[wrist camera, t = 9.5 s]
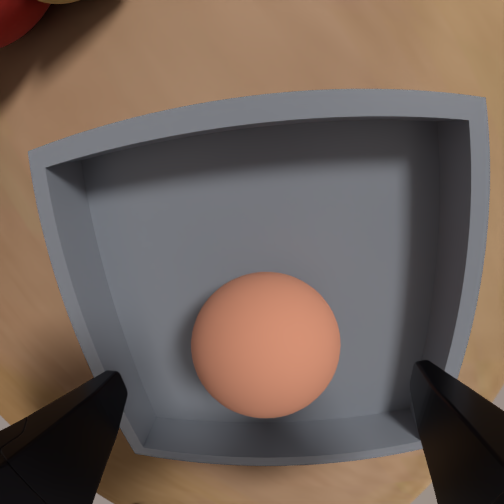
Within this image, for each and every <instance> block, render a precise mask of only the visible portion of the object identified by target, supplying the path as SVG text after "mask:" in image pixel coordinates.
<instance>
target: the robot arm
mask: <svg viewBox="0 0 504 504" xmlns="http://www.w3.org/2000/svg"><path fill="white" fill-rule="evenodd" d="M409 388H410V394H411V398H412V403H413V408H414V414H415V419H416V425H417V429H418V434H419V437H420V441H421V444H422V447H423V451H424V454H425V457H426V461H427V465H428V468H429V472H430V475H431V479H432V483H433V487H434V491H435V495H436V499H437V503H438V504H504V411H503V410H501V409H500V408H498V407H497V406H496V405H494V404H493V403H491V402H490V401H488V400H487V399H485V398H484V397H482V396H481V395H479V394H478V393H476V392H475V391H474V390H472V389H471V388H469V387H468V386H466V385H465V384H463V383H462V382H460V381H459V380H457V379H456V378H454V377H453V376H451V375H450V374H448V373H447V372H445V371H444V370H442V369H441V368H440V367H438V366H437V365H435V364H434V363H432V362H431V361H429V360H421V361H416V362H415V363H414V365H413V369H412V374H411V378H410V383H409ZM127 396H128V392H127V388H126V386H125V383H124V381H123V379H122V376H121V374H120V373H119V372H118V371H113V370H106V371H105V372H103V373H101V374H100V375H98V376H96V377H94V378H93V379H91V380H89V381H88V382H86V383H84V384H83V385H81V386H79V387H78V388H76V389H74V390H72V391H71V392H69V393H67V394H66V395H64V396H62V397H60V398H59V399H57V400H55V401H53V402H52V403H50V404H48V405H47V406H45V407H43V408H41V409H40V410H38V411H36V412H34V413H33V414H31V415H29V416H28V417H25V418H24V419H22V420H20V421H18V422H17V423H15V424H13V425H11V426H9V427H7V428H5V429H3V430H1V431H0V504H92V503H93V500H94V497H95V494H96V492H97V489H98V486H99V483H100V480H101V477H102V475H103V472H104V469H105V466H106V463H107V461H108V458H109V455H110V453H111V450H112V447H113V445H114V442H115V439H116V436H117V434H118V430H119V427H120V423H121V419H122V415H123V411H124V407H125V404H126V400H127Z"/></svg>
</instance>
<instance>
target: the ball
mask: <svg viewBox="0 0 504 504" xmlns="http://www.w3.org/2000/svg"><path fill="white" fill-rule="evenodd" d="M340 347H341V343H340V332H339V328H338V324H337V321H336V319H335V316H334V314H333V311H332V310H331V308H330V306H329V305H328V303H327V302H326V301H325V300H324V298H323V297H322V296H321V295H320V294H319V293H318V292H317V291H316V290H315V289H314V288H312V287H311V286H309V285H308V284H307V283H305V282H303V281H301V280H299V279H297V278H295V277H292V276H290V275H287V274H282V273H277V272H256V273H250V274H246V275H243V276H240V277H238V278H235V279H233V280H231V281H229V282H227V283H226V284H224V285H223V286H221V287H220V288H219V289H217V290H216V291H215V292H214V293H213V294H212V295H211V296H210V297H209V298H208V299H207V301H206V302H205V304H204V305H203V307H202V308H201V310H200V312H199V314H198V316H197V318H196V321H195V324H194V327H193V331H192V338H191V353H192V360H193V364H194V367H195V370H196V373H197V375H198V377H199V379H200V381H201V383H202V384H203V386H204V387H205V389H206V390H207V391H208V393H209V394H210V395H211V396H212V397H213V398H214V399H216V400H217V401H218V402H219V403H220V404H222V405H223V406H225V407H226V408H228V409H230V410H232V411H234V412H236V413H239V414H242V415H245V416H249V417H255V418H276V417H282V416H286V415H289V414H292V413H295V412H297V411H299V410H301V409H303V408H305V407H306V406H308V405H309V404H311V403H312V402H313V401H314V400H315V399H317V398H318V397H319V396H320V395H321V394H322V392H323V391H324V390H325V389H326V387H327V386H328V384H329V383H330V381H331V380H332V378H333V376H334V374H335V371H336V368H337V365H338V362H339V356H340Z"/></svg>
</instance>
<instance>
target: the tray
mask: <svg viewBox="0 0 504 504" xmlns="http://www.w3.org/2000/svg"><path fill="white" fill-rule="evenodd" d="M28 156H29V163H30V170H31V176H32V182H33V188H34V193H35V198H36V203H37V208H38V213H39V217H40V222H41V226H42V230H43V234H44V238H45V242H46V246H47V250H48V253H49V257H50V260H51V264H52V267H53V271H54V274H55V277H56V280H57V284H58V287H59V290H60V293H61V296H62V299H63V302H64V305H65V307H66V310H67V313H68V316H69V318H70V321H71V324H72V326H73V329H74V331H75V334H76V337H77V339H78V341H79V344H80V346H81V349H82V351H83V353H84V356H85V358H86V360H87V363H88V365H89V367H90V369H91V372H92V374H93V376H94V377H96V376H98V375H100V374H101V373H103V372H105V371H106V370H113V371H118V372H119V373H120V374H121V376H122V379H123V381H124V383H125V386H126V388H127V392H128V396H127V400H126V404H125V407H124V411H123V415H122V419H121V423H120V429H121V430H122V432H123V434H124V436H125V437H126V439H127V441H128V442H129V444H130V446H131V447H132V449H133V451H134V452H135V454H140V455H146V456H152V457H158V458H165V459H172V460H180V461H189V462H198V463H210V464H224V465H247V466H288V465H311V464H325V463H336V462H346V461H355V460H362V459H370V458H376V457H383V456H388V455H394V454H399V453H405V452H409V451H414V450H419V449H423V447H422V444H421V441H420V437H419V434H418V429H417V425H416V419H415V414H414V408H413V403H412V398H411V394H410V388H409V383H410V378H411V374H412V369H413V365H414V363H415V362H416V361H421V360H429V361H431V362H432V363H434V364H435V365H437V366H438V367H440V368H441V369H442V370H444V371H445V372H447V373H448V374H450V375H451V376H453V377H454V378H456V379H457V378H458V375H459V372H460V368H461V365H462V362H463V358H464V355H465V351H466V347H467V344H468V340H469V336H470V332H471V328H472V323H473V319H474V315H475V310H476V305H477V300H478V295H479V289H480V283H481V277H482V271H483V264H484V256H485V248H486V239H487V228H488V215H489V195H490V149H489V129H488V116H487V106H486V98H485V97H478V96H471V95H463V94H454V93H444V92H432V91H418V90H398V89H331V90H310V91H295V92H283V93H273V94H263V95H254V96H246V97H238V98H231V99H225V100H218V101H212V102H206V103H200V104H195V105H189V106H184V107H179V108H174V109H169V110H164V111H160V112H155V113H151V114H147V115H143V116H139V117H134V118H131V119H127V120H123V121H119V122H115V123H112V124H108V125H105V126H101V127H98V128H94V129H91V130H88V131H85V132H82V133H78V134H75V135H72V136H69V137H66V138H63V139H60V140H58V141H55V142H52V143H49V144H46V145H44V146H41V147H38V148H36V149H33V150H30V151H28ZM256 272H277V273H282V274H287V275H290V276H292V277H295V278H297V279H299V280H301V281H303V282H305V283H307V284H308V285H309V286H311V287H312V288H314V289H315V290H316V291H317V292H318V293H319V294H320V295H321V296H322V297H323V298H324V300H325V301H326V302H327V303H328V305H329V306H330V308H331V310H332V311H333V314H334V316H335V319H336V321H337V324H338V328H339V332H340V343H341V347H340V356H339V362H338V365H337V368H336V371H335V374H334V376H333V378H332V380H331V381H330V383H329V384H328V386H327V387H326V389H325V390H324V391H323V392H322V394H321V395H320V396H319V397H318V398H317V399H315V400H314V401H313V402H312V403H311V404H309V405H308V406H306V407H305V408H303V409H301V410H299V411H297V412H295V413H292V414H289V415H286V416H282V417H276V418H255V417H249V416H245V415H242V414H239V413H236V412H234V411H232V410H230V409H228V408H226V407H225V406H223V405H222V404H220V403H219V402H218V401H217V400H216V399H214V398H213V397H212V396H211V395H210V394H209V393H208V391H207V390H206V389H205V387H204V386H203V384H202V383H201V381H200V379H199V377H198V375H197V373H196V370H195V367H194V364H193V360H192V353H191V338H192V331H193V327H194V324H195V321H196V318H197V316H198V314H199V312H200V310H201V308H202V307H203V305H204V304H205V302H206V301H207V299H208V298H209V297H210V296H211V295H212V294H213V293H214V292H215V291H216V290H217V289H219V288H220V287H221V286H223V285H224V284H226V283H227V282H229V281H231V280H233V279H235V278H238V277H240V276H243V275H246V274H250V273H256Z"/></svg>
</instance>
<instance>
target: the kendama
mask: <svg viewBox="0 0 504 504" xmlns="http://www.w3.org/2000/svg"><path fill="white" fill-rule="evenodd" d="M75 1H79V0H0V48H2V47H4V46H7V45H9V44H11V43H13V42H14V41H16V40H17V39H19V38H20V37H22V36H23V35H25V34H26V33H27V32H28V31H29V30H30V29H31V28H33V27H34V26H35V25H36V23H37V22H38V21H39V20H40V19H41V18H42V16H43V15H44V14H45V12H46V11H47V9H48V7H49V6H50V4H65V3H71V2H75Z"/></svg>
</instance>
